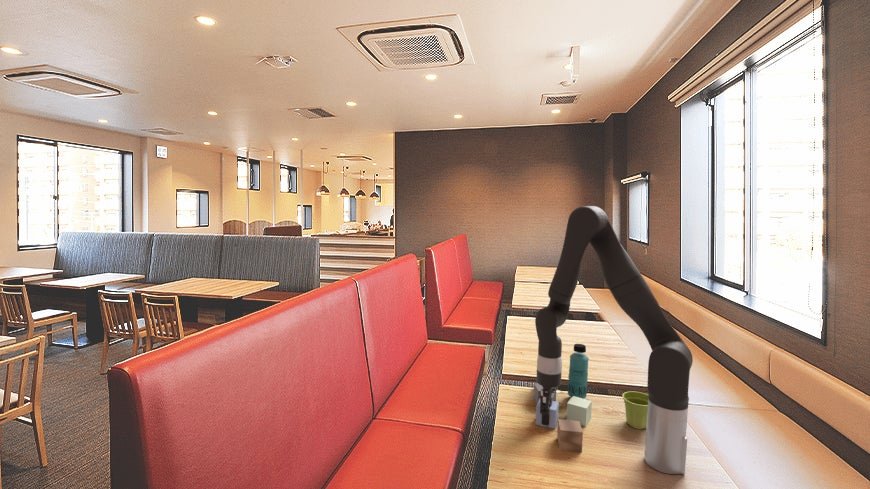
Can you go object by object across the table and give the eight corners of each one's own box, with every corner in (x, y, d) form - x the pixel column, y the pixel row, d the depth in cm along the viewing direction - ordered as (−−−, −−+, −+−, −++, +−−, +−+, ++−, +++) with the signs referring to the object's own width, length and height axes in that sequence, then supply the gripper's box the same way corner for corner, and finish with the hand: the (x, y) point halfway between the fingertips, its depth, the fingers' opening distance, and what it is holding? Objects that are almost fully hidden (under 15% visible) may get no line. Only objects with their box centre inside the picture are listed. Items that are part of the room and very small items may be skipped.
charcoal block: (550, 399, 147) (551, 383, 146) (555, 408, 141) (556, 391, 140) (533, 399, 147) (534, 383, 146) (537, 407, 141) (538, 391, 140)
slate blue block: (558, 419, 133) (559, 401, 132) (555, 428, 128) (556, 410, 127) (539, 415, 136) (539, 398, 135) (535, 424, 130) (536, 406, 130)
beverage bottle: (565, 394, 150) (568, 341, 148) (584, 395, 150) (587, 342, 148) (569, 403, 144) (571, 347, 142) (588, 404, 143) (591, 348, 141)
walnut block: (578, 440, 122) (579, 421, 121) (581, 452, 116) (582, 432, 115) (557, 438, 123) (557, 419, 122) (559, 450, 117) (560, 430, 116)
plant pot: (653, 435, 124) (655, 408, 124) (619, 427, 129) (621, 400, 128) (654, 421, 133) (655, 395, 132) (621, 414, 137) (623, 388, 136)
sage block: (590, 418, 134) (591, 401, 133) (585, 426, 129) (586, 408, 129) (572, 413, 138) (573, 395, 137) (566, 420, 133) (567, 403, 132)
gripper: (557, 379, 122) (555, 433, 124) (564, 362, 135) (562, 411, 137) (532, 374, 125) (530, 427, 127) (541, 358, 138) (539, 406, 140)
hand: (547, 419), depth 132 cm, fingers closed on slate blue block, 6 cm apart
